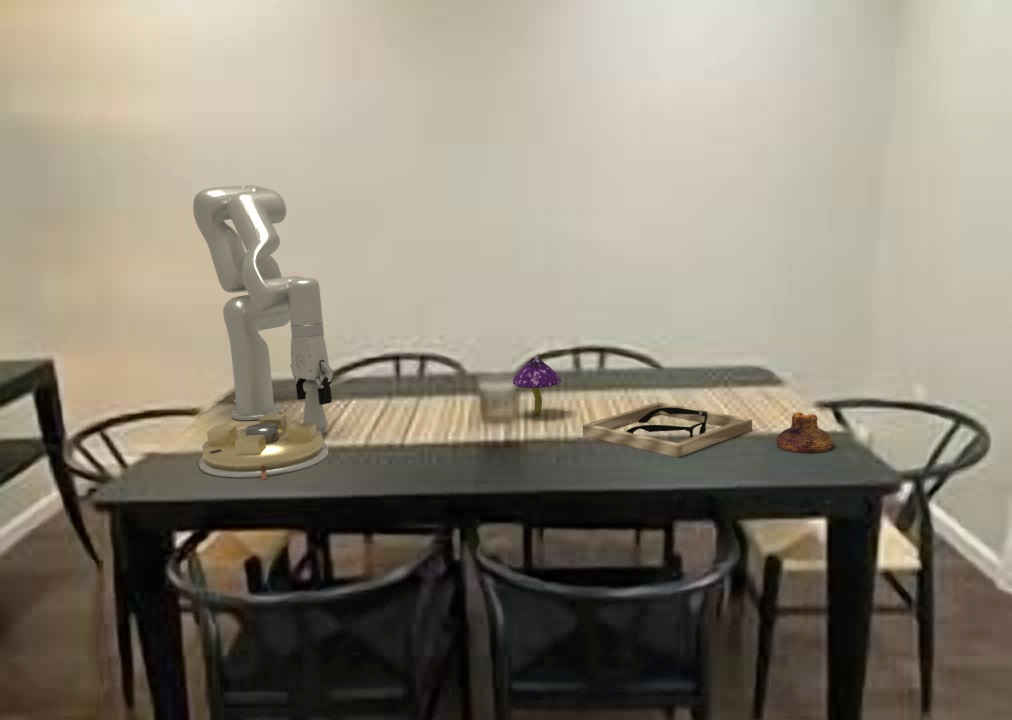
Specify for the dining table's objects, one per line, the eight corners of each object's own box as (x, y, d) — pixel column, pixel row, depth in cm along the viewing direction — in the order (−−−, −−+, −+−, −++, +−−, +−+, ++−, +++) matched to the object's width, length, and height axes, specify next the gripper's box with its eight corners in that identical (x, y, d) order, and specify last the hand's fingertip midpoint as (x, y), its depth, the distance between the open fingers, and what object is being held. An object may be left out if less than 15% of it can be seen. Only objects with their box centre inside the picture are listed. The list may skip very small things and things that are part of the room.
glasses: (694, 451, 219) (695, 429, 218) (617, 441, 227) (617, 419, 226) (713, 431, 234) (714, 410, 233) (639, 422, 241) (640, 402, 240)
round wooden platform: (186, 472, 212) (183, 445, 211) (225, 439, 238) (222, 414, 237) (308, 469, 211) (306, 441, 210) (334, 435, 237) (331, 410, 235)
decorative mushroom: (502, 416, 252) (500, 357, 249) (540, 406, 260) (537, 349, 257) (535, 424, 242) (533, 363, 239) (573, 414, 250) (571, 355, 247)
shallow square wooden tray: (582, 435, 231) (582, 425, 231) (658, 411, 249) (657, 402, 248) (678, 457, 211) (677, 446, 211) (752, 429, 229) (752, 419, 229)
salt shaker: (322, 436, 240) (318, 383, 238) (300, 436, 242) (295, 383, 239) (331, 430, 246) (327, 378, 243) (309, 430, 247) (305, 378, 245)
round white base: (177, 461, 226) (177, 456, 225) (287, 434, 244) (286, 429, 244) (238, 486, 205) (237, 481, 205) (352, 455, 224) (352, 450, 223)
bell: (764, 443, 219) (765, 411, 218) (810, 436, 223) (811, 404, 222) (797, 457, 208) (798, 423, 207) (845, 449, 212) (846, 416, 211)
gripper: (274, 330, 243) (282, 400, 246) (313, 335, 230) (320, 408, 233) (302, 326, 247) (308, 394, 251) (341, 331, 235) (347, 402, 238)
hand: (314, 401), depth 242 cm, fingers open, 9 cm apart
